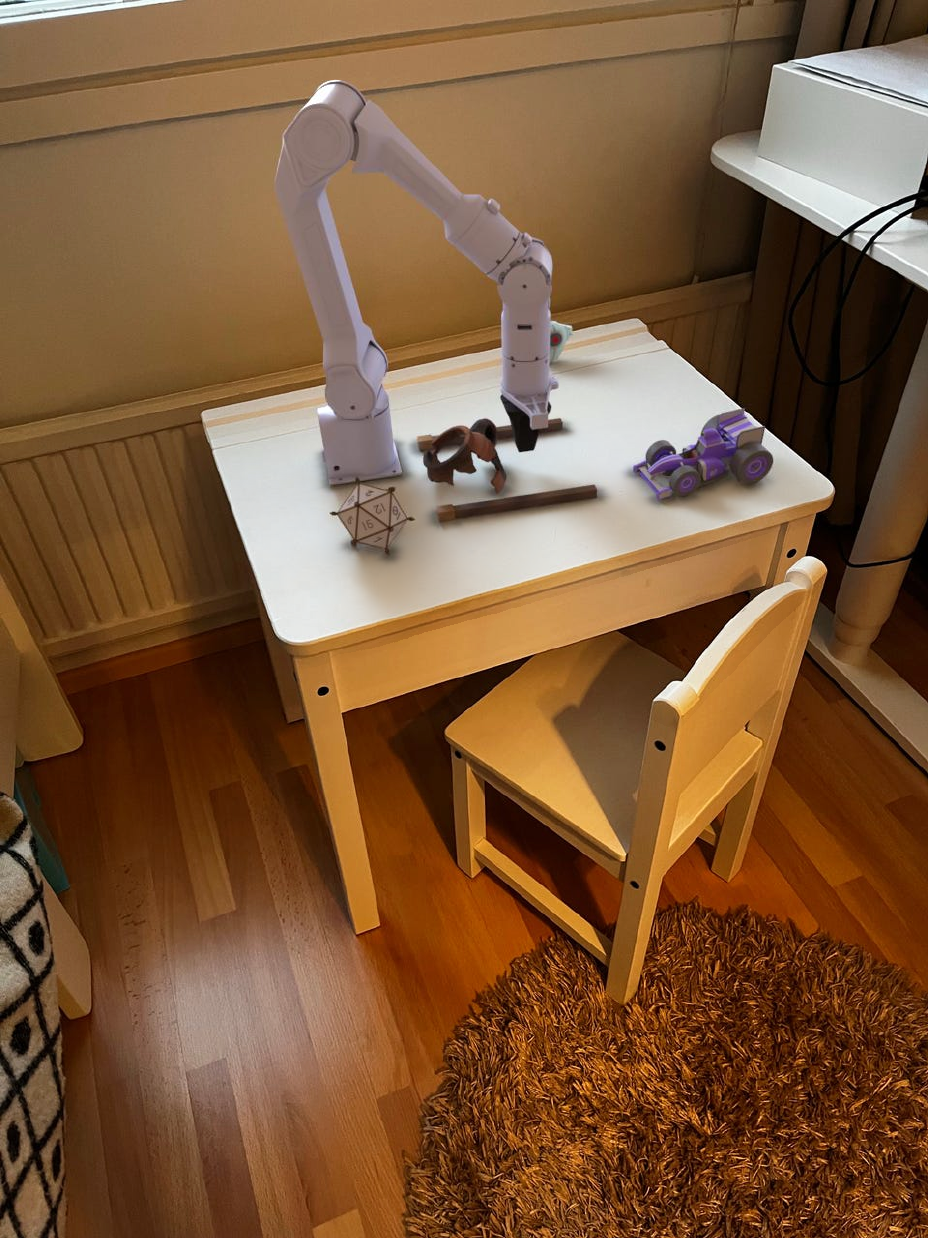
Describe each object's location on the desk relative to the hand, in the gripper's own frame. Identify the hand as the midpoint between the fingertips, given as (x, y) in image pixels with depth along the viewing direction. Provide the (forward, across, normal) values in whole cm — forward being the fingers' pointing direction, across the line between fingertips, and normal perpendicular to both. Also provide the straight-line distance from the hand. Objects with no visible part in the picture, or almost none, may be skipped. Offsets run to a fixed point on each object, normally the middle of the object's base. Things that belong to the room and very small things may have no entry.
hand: (525, 448), depth 117 cm
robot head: (+3, +26, -10) cm, 28 cm away
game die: (+3, -11, +21) cm, 24 cm away
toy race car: (+3, -7, -21) cm, 22 cm away
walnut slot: (+3, 0, +3) cm, 4 cm away
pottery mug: (+3, 0, +7) cm, 8 cm away
